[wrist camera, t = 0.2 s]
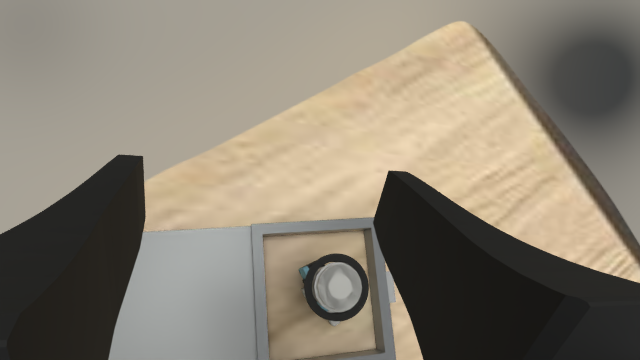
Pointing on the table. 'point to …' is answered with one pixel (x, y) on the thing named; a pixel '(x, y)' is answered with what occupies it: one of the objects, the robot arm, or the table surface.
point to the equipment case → (226, 294)
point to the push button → (335, 287)
